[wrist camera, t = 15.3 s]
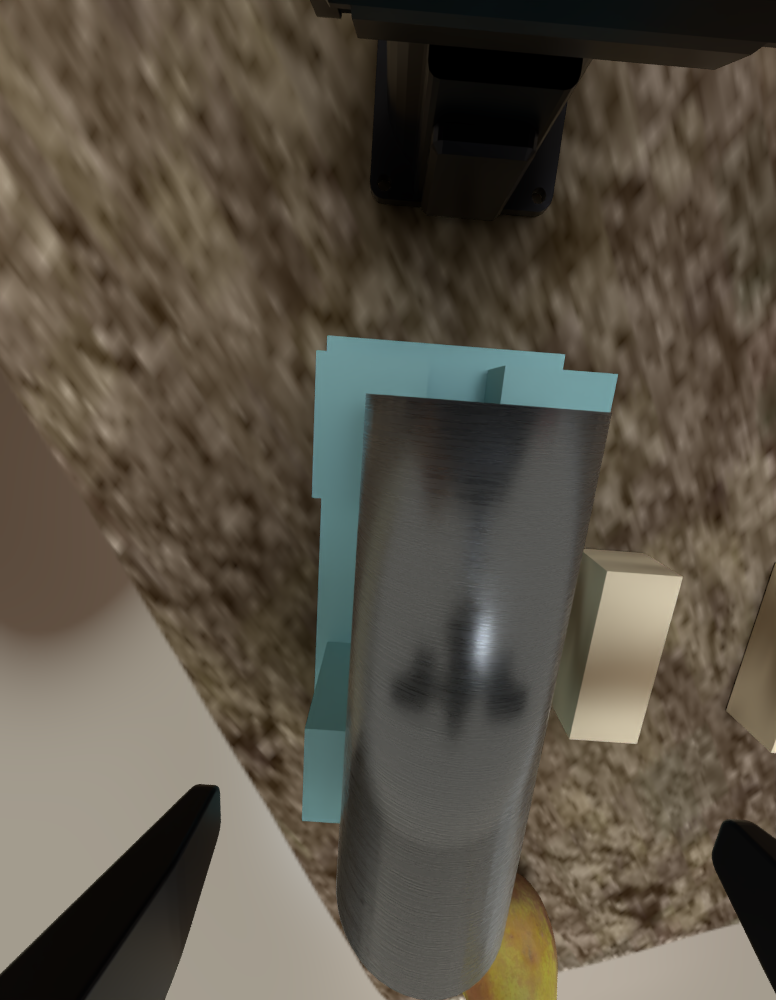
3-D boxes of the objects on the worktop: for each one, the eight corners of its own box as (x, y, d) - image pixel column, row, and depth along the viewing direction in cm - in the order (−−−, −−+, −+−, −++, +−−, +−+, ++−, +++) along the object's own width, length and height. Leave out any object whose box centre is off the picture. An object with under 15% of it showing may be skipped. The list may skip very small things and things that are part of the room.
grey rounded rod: (367, 393, 11) (362, 392, 6) (547, 407, 11) (676, 417, 6) (342, 798, 15) (327, 999, 10) (480, 802, 15) (533, 1000, 10)
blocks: (578, 548, 18) (607, 571, 16) (840, 567, 19) (908, 593, 16) (548, 698, 20) (569, 739, 18) (784, 714, 21) (837, 757, 18)
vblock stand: (331, 339, 16) (297, 307, 10) (555, 357, 16) (645, 335, 11) (316, 716, 21) (287, 841, 15) (492, 728, 21) (532, 856, 15)
